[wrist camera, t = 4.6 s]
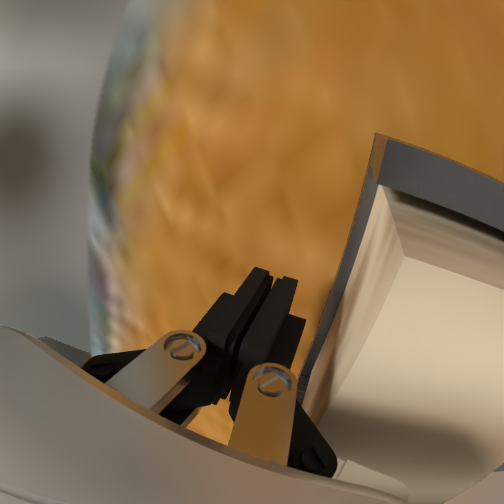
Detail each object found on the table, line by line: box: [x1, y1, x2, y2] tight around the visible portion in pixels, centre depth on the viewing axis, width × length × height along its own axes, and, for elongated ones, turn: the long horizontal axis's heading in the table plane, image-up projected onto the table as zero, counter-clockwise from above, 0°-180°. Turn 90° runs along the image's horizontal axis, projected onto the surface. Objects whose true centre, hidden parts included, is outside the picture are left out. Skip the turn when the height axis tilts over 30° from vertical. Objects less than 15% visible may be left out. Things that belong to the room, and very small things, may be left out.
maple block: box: [302, 185, 504, 504], centre depth 9 cm, size 10×8×7 cm
